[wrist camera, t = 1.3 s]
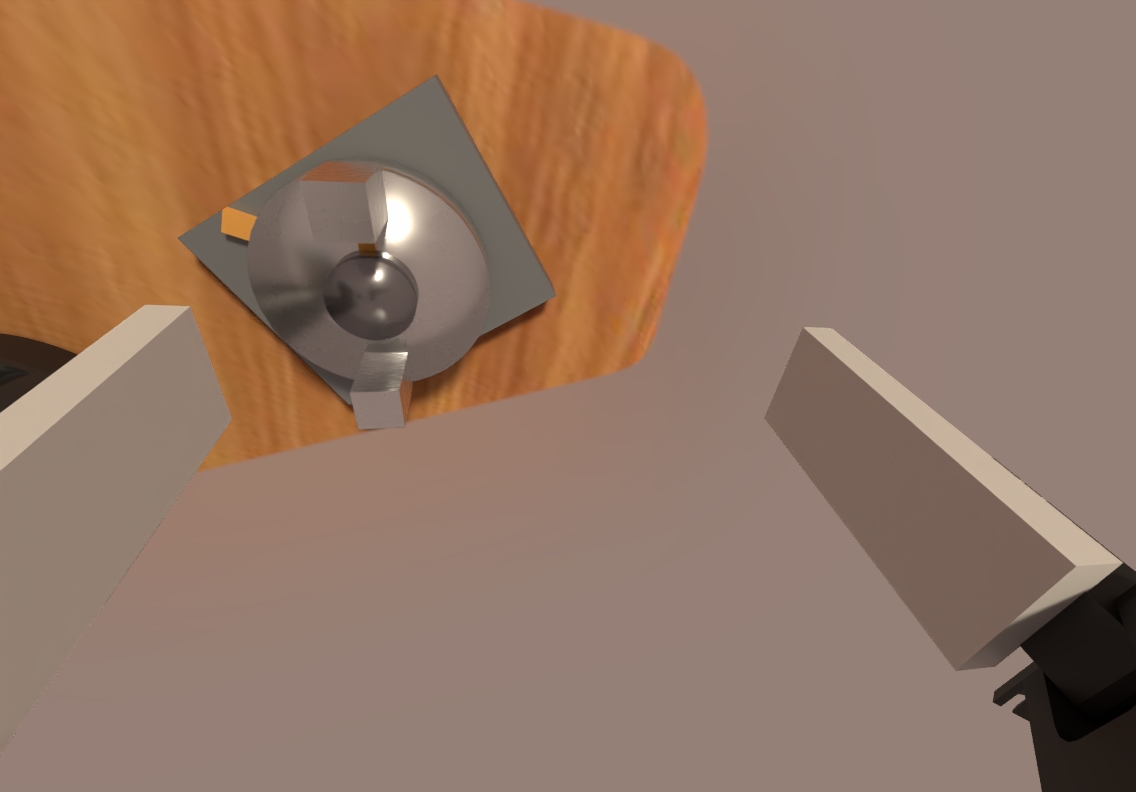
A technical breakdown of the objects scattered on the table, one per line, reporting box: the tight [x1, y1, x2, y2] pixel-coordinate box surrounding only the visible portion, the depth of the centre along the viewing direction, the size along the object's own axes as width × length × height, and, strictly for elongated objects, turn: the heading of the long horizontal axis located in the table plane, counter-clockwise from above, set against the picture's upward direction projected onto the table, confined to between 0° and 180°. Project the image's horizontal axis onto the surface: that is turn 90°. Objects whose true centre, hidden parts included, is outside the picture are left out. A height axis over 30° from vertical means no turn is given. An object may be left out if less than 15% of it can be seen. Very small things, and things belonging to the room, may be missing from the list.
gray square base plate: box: [178, 75, 556, 405], centre depth 28 cm, size 16×13×3 cm
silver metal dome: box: [247, 157, 490, 429], centre depth 25 cm, size 12×12×7 cm
